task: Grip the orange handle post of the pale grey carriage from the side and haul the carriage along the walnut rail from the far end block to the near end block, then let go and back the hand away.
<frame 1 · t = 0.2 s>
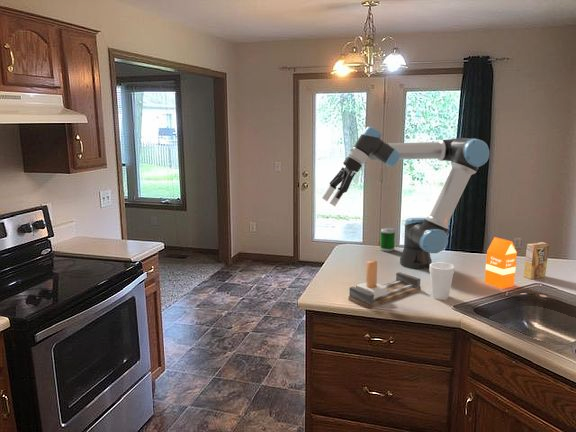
hand: (328, 202, 199), 35 cm above the worktop, tool tilted 35°, fingers open, 13 cm apart
soda can: (387, 250, 251), on the worktop
foam cup: (440, 297, 185), on the worktop
orange juice: (498, 284, 198), on the worktop
carriage: (371, 277, 181), point 9 cm above the worktop, slide at 17.0 cm
rail: (385, 294, 187), on the worktop
candy box: (534, 277, 207), on the worktop
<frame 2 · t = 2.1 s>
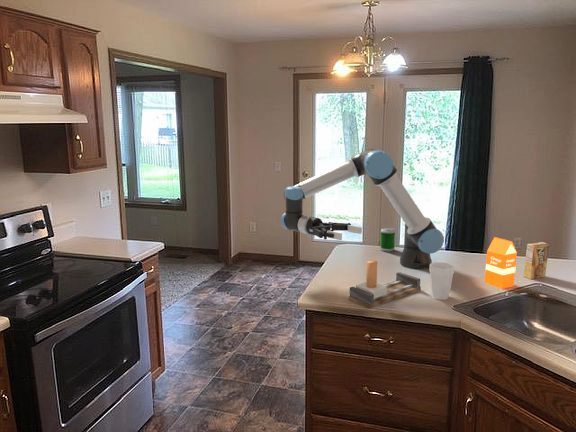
hand: (351, 233, 184), 25 cm above the worktop, tool horizontal, fingers open, 13 cm apart
nothing on the worktop moved.
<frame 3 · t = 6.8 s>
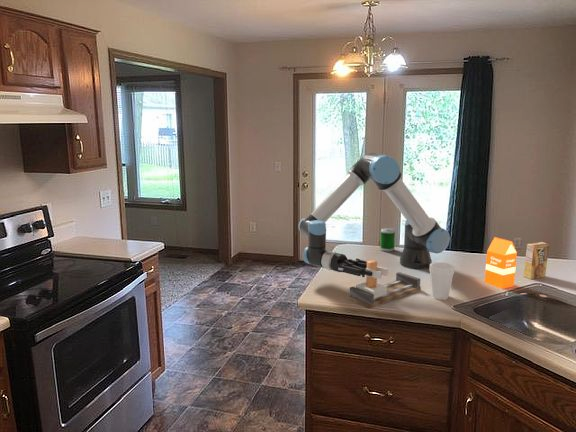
hand: (383, 273, 176), 12 cm above the worktop, tool horizontal, fingers closed on carriage, 4 cm apart
carriage: (371, 277, 181), point 9 cm above the worktop, slide at 17.0 cm, touching gripper
everything else where it was.
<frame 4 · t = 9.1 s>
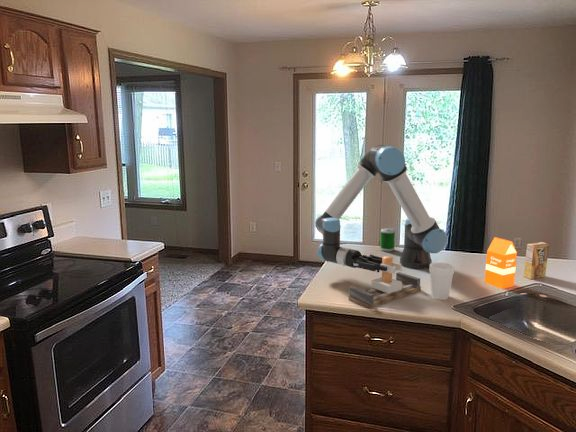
hand: (398, 268, 182), 12 cm above the worktop, tool horizontal, fingers closed on carriage, 4 cm apart
carriage: (387, 272, 186), point 9 cm above the worktop, slide at 8.0 cm, touching gripper
everything else where it was.
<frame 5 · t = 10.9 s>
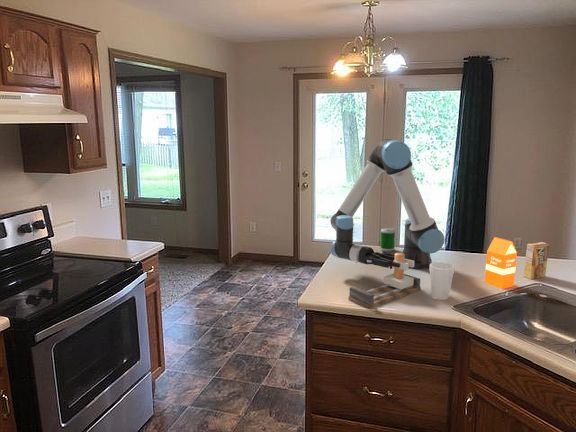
hand: (410, 265, 186), 12 cm above the worktop, tool horizontal, fingers closed on carriage, 4 cm apart
carriage: (399, 269, 190), point 9 cm above the worktop, slide at 0.6 cm, touching gripper
everything else where it was.
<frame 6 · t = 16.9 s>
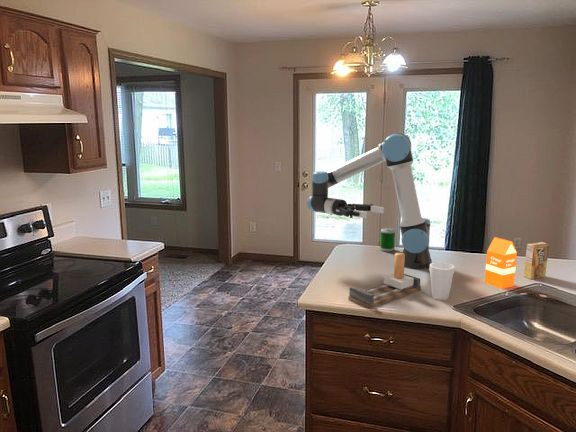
hand: (375, 212, 201), 30 cm above the worktop, tool horizontal, fingers open, 13 cm apart
carriage: (399, 269, 190), point 9 cm above the worktop, slide at 0.6 cm
everything else where it was.
at the end: carriage slide at 0.6 cm; the gripper is holding nothing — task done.
